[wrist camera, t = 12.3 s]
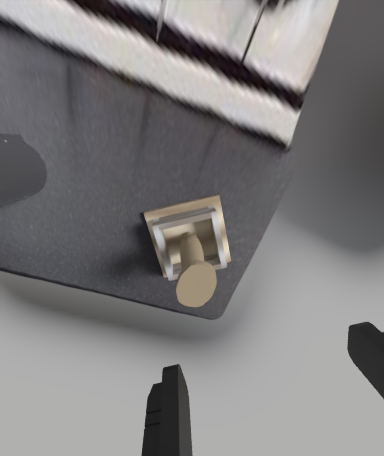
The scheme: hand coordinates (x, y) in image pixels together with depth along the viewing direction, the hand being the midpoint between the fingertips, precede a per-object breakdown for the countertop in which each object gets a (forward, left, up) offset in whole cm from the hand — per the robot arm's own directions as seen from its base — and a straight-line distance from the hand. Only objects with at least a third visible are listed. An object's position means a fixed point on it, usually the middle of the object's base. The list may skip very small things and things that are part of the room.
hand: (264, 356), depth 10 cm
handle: (+7, -3, -31) cm, 32 cm away
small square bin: (+7, -3, -32) cm, 33 cm away
